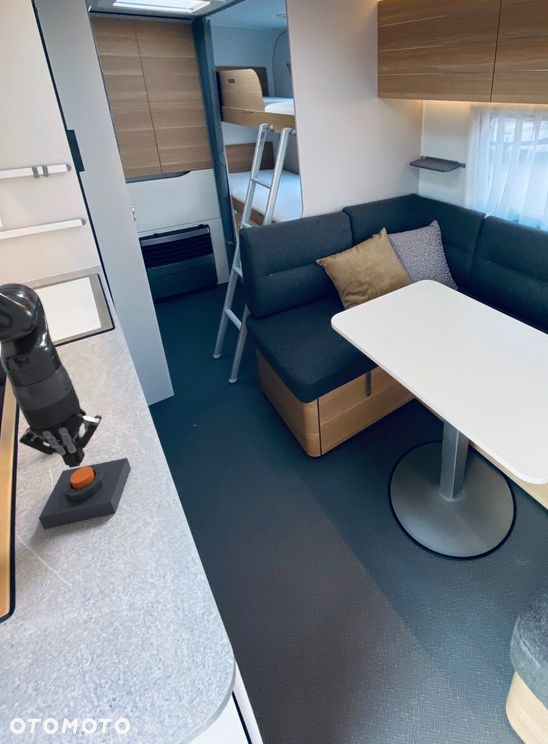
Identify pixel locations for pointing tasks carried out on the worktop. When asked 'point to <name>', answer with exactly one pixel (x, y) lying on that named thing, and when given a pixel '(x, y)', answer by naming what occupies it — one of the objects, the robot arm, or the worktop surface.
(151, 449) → the worktop surface
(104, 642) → the worktop surface
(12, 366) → the robot arm
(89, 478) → the button
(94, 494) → the control box
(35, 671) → the worktop surface
